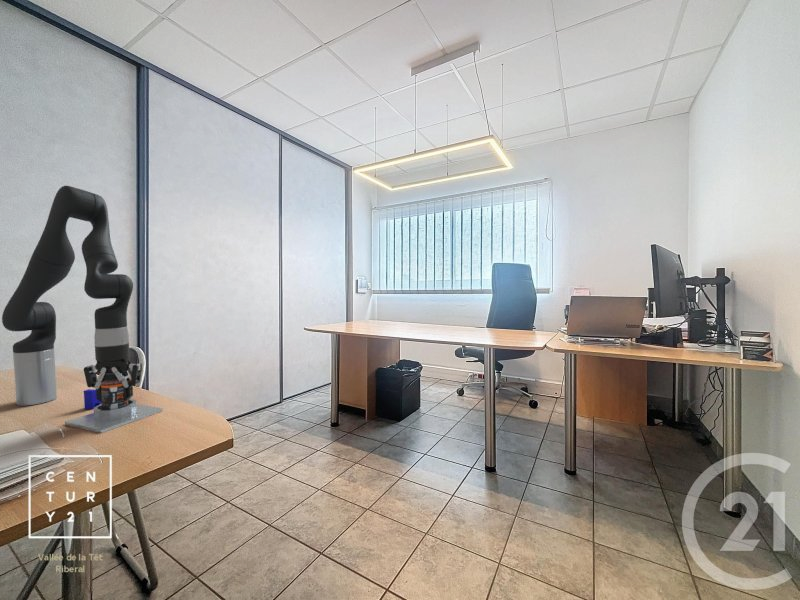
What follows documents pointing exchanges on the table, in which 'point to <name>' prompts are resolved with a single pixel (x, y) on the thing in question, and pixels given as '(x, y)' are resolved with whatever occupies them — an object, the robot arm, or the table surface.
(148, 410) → the duct panel
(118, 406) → the supplement bottle
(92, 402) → the blue notched bracket
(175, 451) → the table surface
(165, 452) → the table surface
